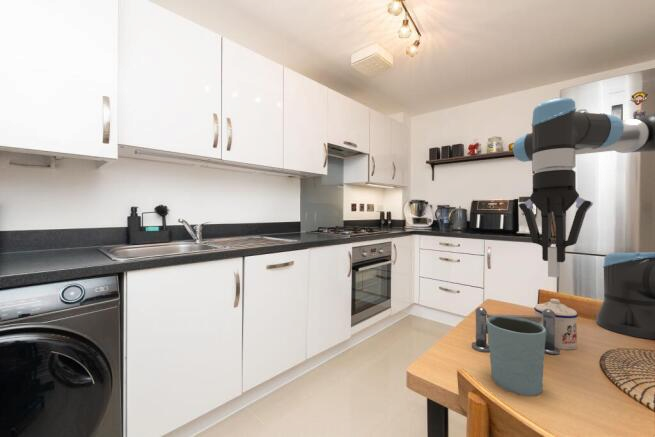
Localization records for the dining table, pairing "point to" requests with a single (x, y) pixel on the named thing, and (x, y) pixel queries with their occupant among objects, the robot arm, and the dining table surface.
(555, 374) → the dining table surface
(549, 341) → the hinge post
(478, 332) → the post
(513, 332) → the blue-grey pot
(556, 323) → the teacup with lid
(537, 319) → the gate
